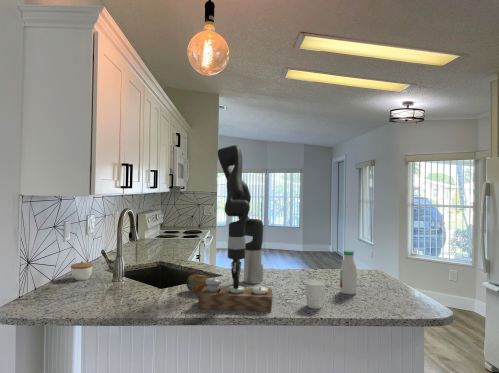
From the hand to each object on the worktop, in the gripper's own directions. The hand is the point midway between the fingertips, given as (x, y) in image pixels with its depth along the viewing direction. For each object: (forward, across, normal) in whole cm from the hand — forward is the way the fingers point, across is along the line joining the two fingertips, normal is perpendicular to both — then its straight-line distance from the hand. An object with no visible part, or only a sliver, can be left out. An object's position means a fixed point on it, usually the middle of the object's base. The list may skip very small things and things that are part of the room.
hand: (236, 287), depth 155 cm
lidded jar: (+8, -32, -88) cm, 94 cm away
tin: (+8, -16, -19) cm, 26 cm away
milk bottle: (+8, -26, +51) cm, 58 cm away
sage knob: (+5, 0, 0) cm, 5 cm away
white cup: (+8, -4, +34) cm, 35 cm away
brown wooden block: (+8, 0, 0) cm, 8 cm away
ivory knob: (+5, 0, +10) cm, 11 cm away
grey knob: (+2, 0, -10) cm, 10 cm away
